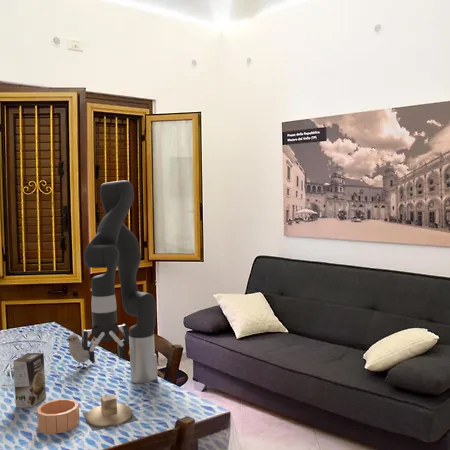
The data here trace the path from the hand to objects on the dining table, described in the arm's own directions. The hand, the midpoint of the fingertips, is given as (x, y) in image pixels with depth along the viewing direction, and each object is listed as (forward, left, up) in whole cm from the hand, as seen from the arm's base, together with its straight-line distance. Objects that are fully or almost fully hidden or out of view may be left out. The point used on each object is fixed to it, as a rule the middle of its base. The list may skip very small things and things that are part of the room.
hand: (106, 359), depth 167 cm
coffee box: (+20, -26, -19) cm, 38 cm away
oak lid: (0, 0, -18) cm, 18 cm away
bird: (-2, -51, -19) cm, 54 cm away
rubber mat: (0, 0, -19) cm, 19 cm away
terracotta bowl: (+15, -3, -19) cm, 24 cm away
